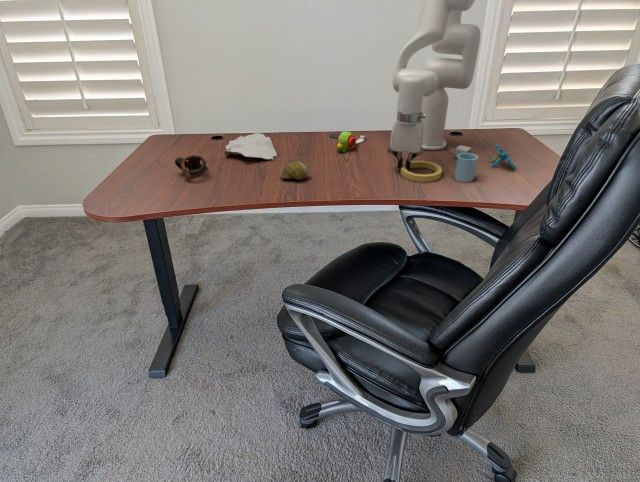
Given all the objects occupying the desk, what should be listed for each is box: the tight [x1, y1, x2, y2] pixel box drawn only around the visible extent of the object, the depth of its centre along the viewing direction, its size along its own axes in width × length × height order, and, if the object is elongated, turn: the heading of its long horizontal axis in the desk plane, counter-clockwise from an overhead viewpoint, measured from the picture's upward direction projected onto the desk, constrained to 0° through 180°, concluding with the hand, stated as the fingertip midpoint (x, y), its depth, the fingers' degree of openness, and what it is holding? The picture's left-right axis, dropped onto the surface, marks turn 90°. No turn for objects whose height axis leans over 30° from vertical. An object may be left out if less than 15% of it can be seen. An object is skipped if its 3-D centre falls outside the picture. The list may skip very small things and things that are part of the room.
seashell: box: [280, 160, 309, 181], centre depth 140 cm, size 10×7×8 cm
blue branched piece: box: [491, 144, 516, 169], centre depth 146 cm, size 11×6×10 cm
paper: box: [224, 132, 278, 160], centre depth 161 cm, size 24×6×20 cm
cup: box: [453, 153, 479, 183], centre depth 138 cm, size 6×6×8 cm
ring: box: [400, 160, 443, 183], centre depth 143 cm, size 13×13×2 cm
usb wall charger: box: [449, 144, 473, 159], centre depth 154 cm, size 4×7×4 cm, turn 47°
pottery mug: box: [174, 154, 209, 182], centre depth 143 cm, size 12×10×8 cm
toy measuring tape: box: [336, 130, 367, 153], centre depth 165 cm, size 6×20×7 cm, turn 145°
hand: (403, 170), depth 144 cm, fingers closed on ring, 1 cm apart
